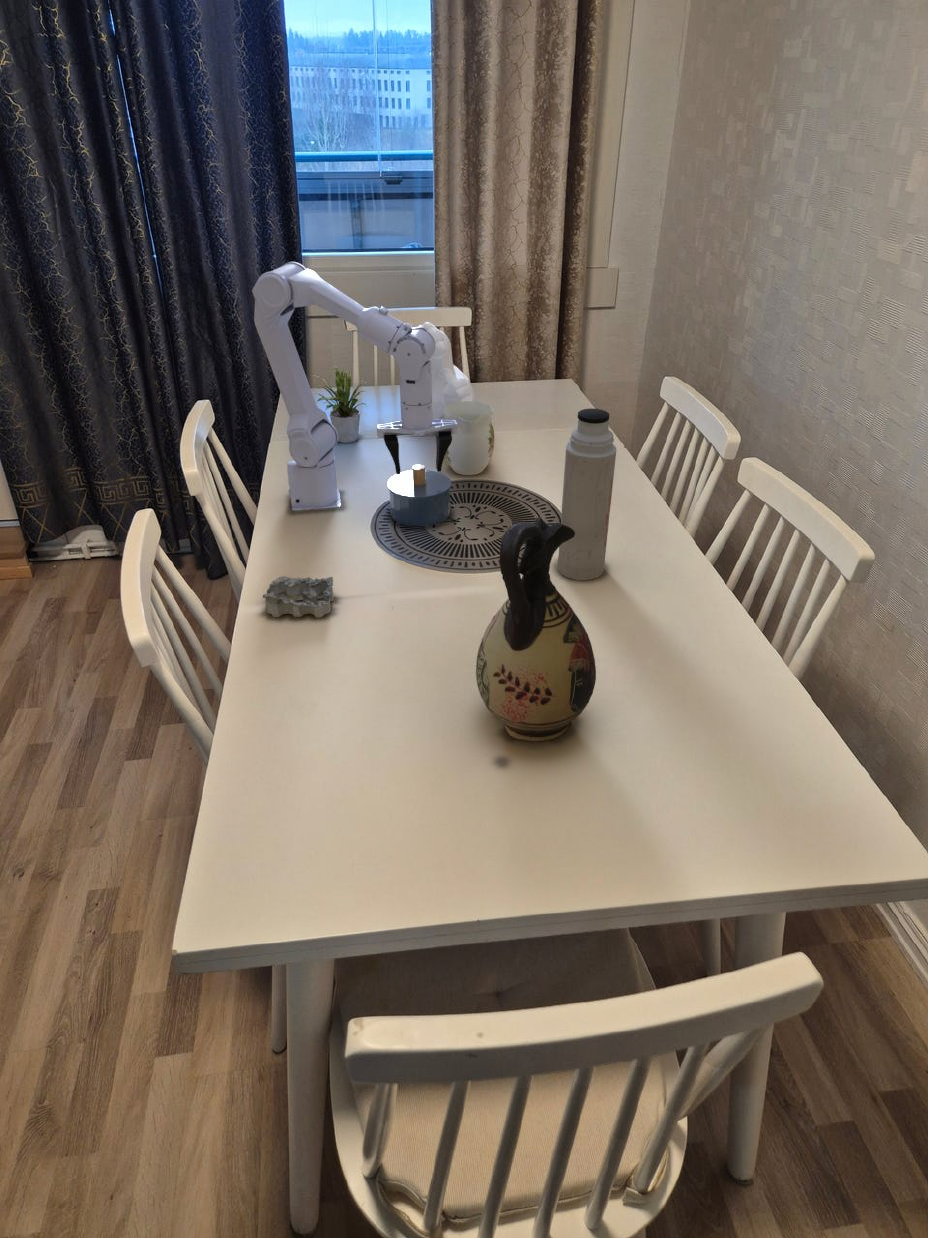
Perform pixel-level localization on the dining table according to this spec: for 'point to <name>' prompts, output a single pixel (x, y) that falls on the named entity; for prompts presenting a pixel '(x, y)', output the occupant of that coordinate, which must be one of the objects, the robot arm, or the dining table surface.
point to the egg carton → (309, 594)
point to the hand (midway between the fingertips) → (418, 471)
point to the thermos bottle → (587, 495)
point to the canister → (420, 509)
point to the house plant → (343, 407)
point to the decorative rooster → (445, 375)
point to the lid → (419, 483)
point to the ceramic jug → (534, 642)
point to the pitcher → (470, 437)
